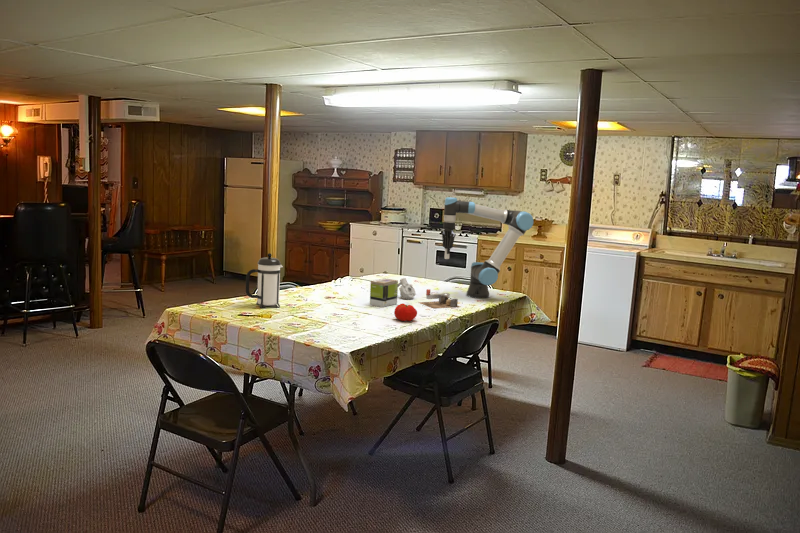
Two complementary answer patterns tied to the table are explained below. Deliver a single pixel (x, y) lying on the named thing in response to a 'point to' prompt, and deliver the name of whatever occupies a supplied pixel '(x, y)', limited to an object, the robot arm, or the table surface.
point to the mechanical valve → (406, 289)
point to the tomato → (405, 312)
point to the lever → (437, 296)
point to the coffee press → (266, 281)
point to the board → (443, 305)
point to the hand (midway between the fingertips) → (446, 258)
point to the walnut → (448, 302)
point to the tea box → (383, 292)
